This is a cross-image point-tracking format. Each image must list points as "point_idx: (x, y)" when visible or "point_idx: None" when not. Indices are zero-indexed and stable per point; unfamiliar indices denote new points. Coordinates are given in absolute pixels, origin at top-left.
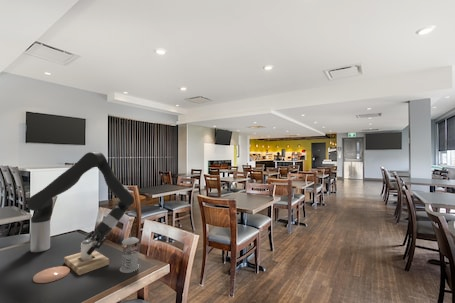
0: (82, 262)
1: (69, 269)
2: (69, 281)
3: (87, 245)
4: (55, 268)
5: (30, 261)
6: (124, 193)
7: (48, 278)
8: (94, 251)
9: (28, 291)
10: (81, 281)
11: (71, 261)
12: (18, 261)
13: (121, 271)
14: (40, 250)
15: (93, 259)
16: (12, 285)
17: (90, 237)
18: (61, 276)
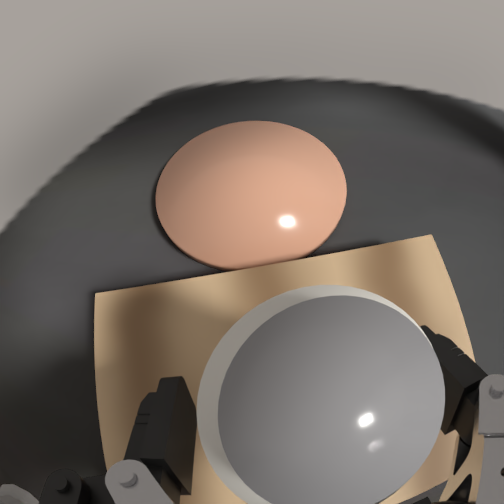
0: (201, 345)
1: (232, 264)
2: (91, 252)
3: (201, 399)
4: (318, 196)
5: (478, 145)
6: None
7: (191, 165)
8: (422, 478)
9: (152, 126)
10: (46, 300)
11: (301, 268)
12: (484, 123)
13: (13, 486)
14: None
15: (200, 446)
16: (257, 89)
17: (486, 490)
18: (158, 215)
